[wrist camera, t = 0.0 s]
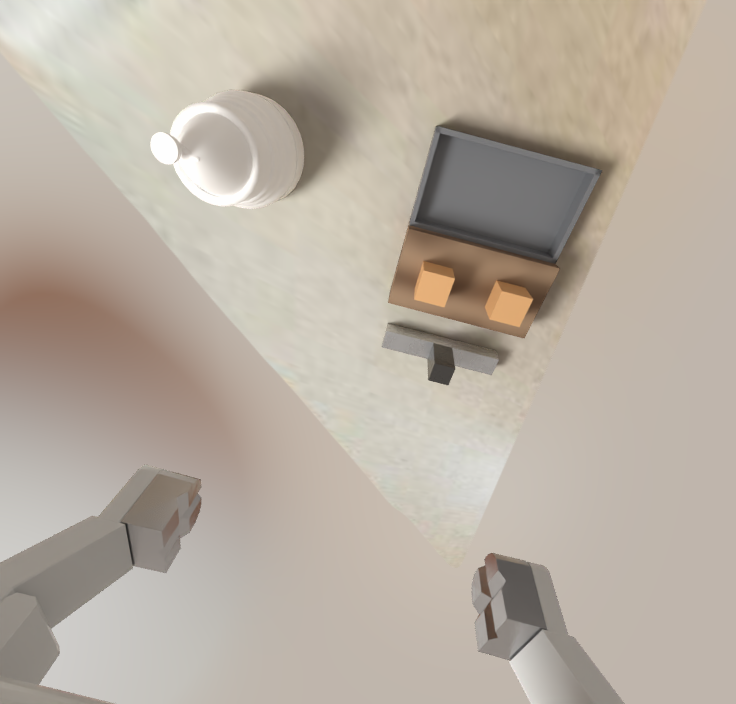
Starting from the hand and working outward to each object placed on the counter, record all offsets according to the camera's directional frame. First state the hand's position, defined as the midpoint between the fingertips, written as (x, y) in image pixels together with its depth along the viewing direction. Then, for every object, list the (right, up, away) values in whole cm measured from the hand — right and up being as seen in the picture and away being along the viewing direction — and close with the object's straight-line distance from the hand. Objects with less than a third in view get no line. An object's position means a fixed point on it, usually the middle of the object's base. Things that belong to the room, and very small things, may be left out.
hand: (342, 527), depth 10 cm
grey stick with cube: (+12, +6, +51) cm, 53 cm away
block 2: (+19, +12, +40) cm, 46 cm away
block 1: (+9, +15, +40) cm, 44 cm away
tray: (+17, +25, +39) cm, 49 cm away
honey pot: (-14, +32, +40) cm, 53 cm away
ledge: (+15, +16, +44) cm, 50 cm away
